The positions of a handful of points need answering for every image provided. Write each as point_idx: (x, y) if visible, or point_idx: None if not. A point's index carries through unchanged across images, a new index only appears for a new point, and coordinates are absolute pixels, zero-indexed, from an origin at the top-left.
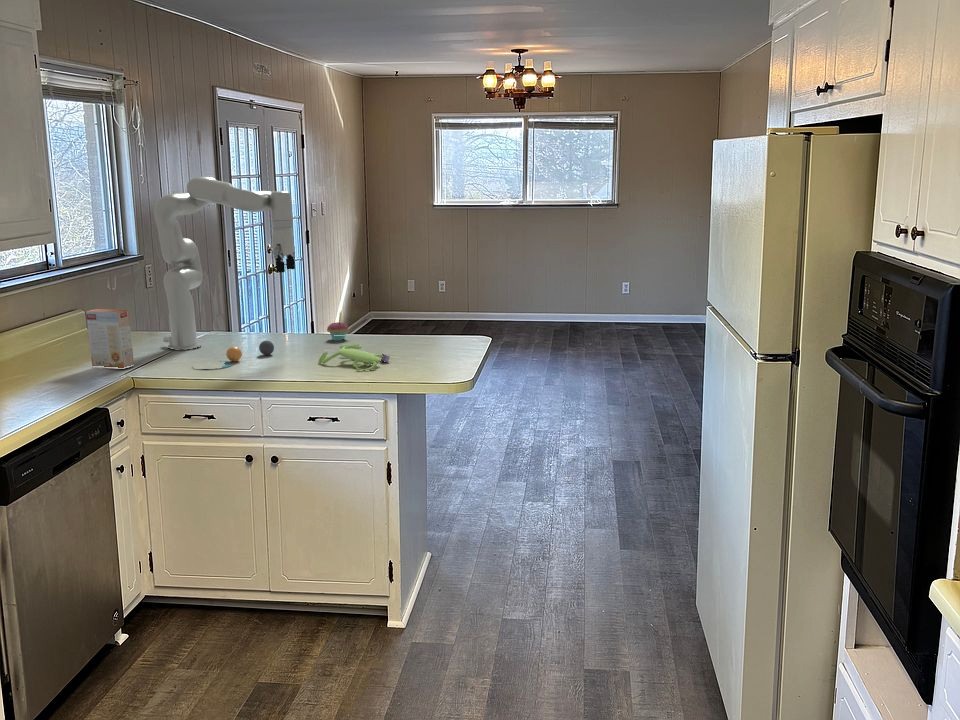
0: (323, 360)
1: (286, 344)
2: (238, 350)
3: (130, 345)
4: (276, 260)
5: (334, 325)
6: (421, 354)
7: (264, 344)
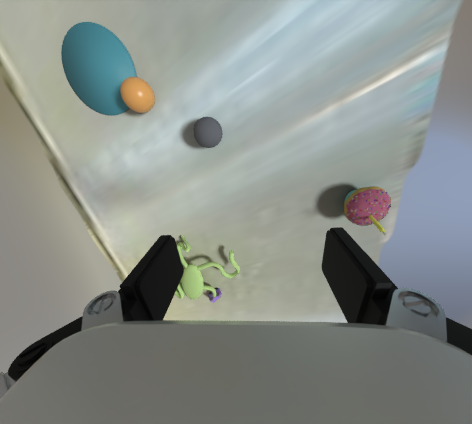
0: (177, 246)
1: (308, 119)
2: (133, 109)
3: None
4: (92, 313)
5: (357, 210)
6: (258, 312)
7: (195, 135)
